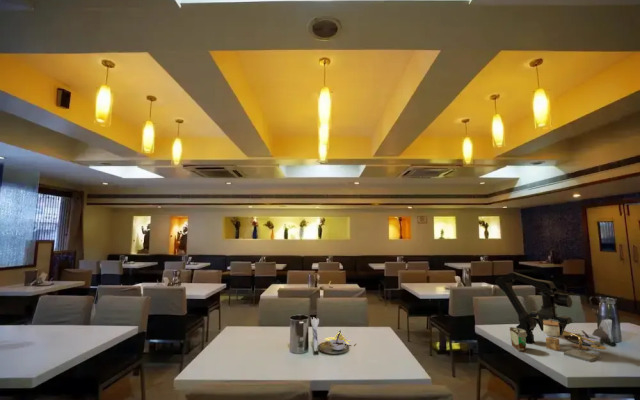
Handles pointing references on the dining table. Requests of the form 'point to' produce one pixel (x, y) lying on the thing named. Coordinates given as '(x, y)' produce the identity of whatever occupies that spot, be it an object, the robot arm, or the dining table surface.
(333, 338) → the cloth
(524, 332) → the food container
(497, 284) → the robot arm
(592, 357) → the grey stone square slab
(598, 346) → the brass balance
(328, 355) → the dining table surface
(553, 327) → the lidded jar
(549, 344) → the oak block
